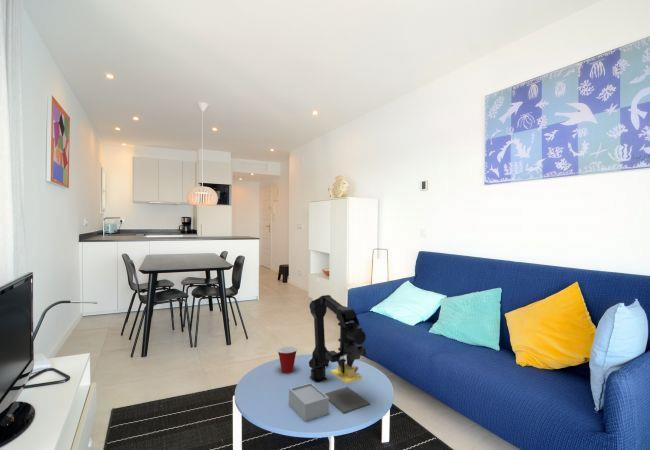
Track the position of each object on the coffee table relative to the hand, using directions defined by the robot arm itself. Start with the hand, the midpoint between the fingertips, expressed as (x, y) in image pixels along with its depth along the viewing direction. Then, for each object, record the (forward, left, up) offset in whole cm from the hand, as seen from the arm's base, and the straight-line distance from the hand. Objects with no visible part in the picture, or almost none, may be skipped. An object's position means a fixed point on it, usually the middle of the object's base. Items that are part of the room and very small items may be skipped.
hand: (345, 372), depth 150 cm
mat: (0, 0, -12) cm, 12 cm away
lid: (0, 0, -2) cm, 2 cm away
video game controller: (-15, -17, -13) cm, 26 cm away
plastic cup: (+10, -40, -13) cm, 43 cm away
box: (+18, -2, -12) cm, 22 cm away
